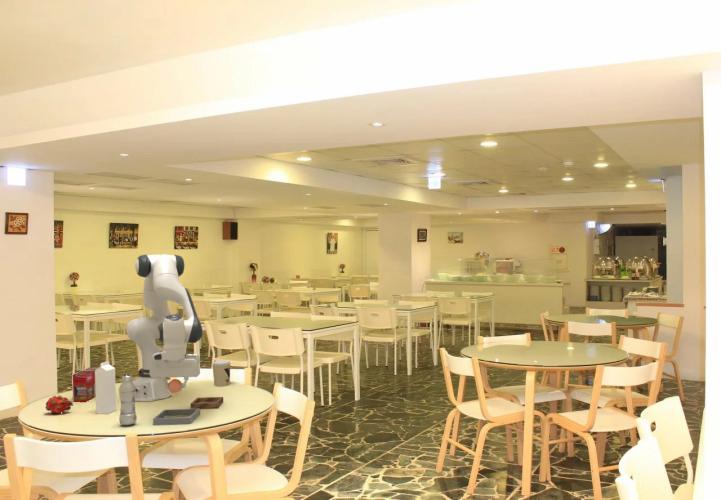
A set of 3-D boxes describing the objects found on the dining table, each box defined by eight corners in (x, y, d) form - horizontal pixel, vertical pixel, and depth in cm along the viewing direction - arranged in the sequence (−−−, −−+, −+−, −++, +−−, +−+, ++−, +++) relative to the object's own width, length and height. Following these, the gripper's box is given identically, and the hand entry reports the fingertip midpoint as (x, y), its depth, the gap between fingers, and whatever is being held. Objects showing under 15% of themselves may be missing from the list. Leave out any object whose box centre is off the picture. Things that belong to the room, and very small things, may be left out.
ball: (166, 394, 258) (166, 380, 258) (170, 391, 264) (170, 377, 264) (180, 394, 258) (179, 380, 258) (184, 391, 264) (183, 377, 264)
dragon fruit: (45, 416, 279) (71, 420, 279) (37, 409, 273) (64, 412, 272) (53, 398, 284) (78, 401, 284) (46, 390, 278) (72, 394, 277)
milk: (96, 413, 275) (94, 363, 276) (104, 410, 281) (102, 360, 281) (108, 414, 274) (106, 363, 274) (116, 410, 280) (114, 360, 280)
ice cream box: (90, 393, 318) (89, 367, 319) (103, 393, 319) (102, 366, 319) (72, 402, 298) (72, 374, 299) (86, 402, 299) (85, 374, 299)
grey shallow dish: (153, 425, 253) (152, 418, 253) (164, 415, 268) (164, 409, 268) (190, 423, 253) (190, 417, 253) (199, 414, 268) (199, 408, 268)
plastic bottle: (122, 423, 258) (120, 374, 258) (139, 422, 258) (137, 373, 258) (117, 427, 251) (115, 377, 251) (134, 426, 252) (133, 376, 252)
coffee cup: (229, 386, 324) (228, 363, 324) (210, 387, 324) (210, 363, 324) (232, 382, 333) (232, 360, 334) (215, 383, 334) (214, 360, 334)
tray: (190, 409, 278) (190, 403, 278) (197, 402, 290) (197, 397, 290) (217, 408, 278) (217, 403, 278) (223, 402, 290) (223, 396, 290)
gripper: (201, 352, 264) (202, 385, 264) (152, 353, 264) (153, 386, 264) (197, 355, 258) (198, 389, 258) (147, 356, 258) (148, 389, 258)
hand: (175, 387), depth 261 cm, fingers closed on ball, 6 cm apart
